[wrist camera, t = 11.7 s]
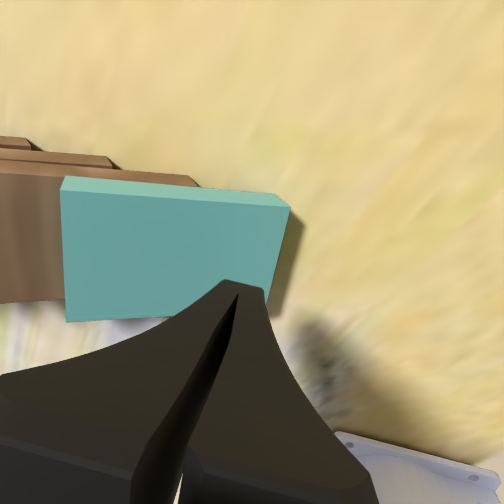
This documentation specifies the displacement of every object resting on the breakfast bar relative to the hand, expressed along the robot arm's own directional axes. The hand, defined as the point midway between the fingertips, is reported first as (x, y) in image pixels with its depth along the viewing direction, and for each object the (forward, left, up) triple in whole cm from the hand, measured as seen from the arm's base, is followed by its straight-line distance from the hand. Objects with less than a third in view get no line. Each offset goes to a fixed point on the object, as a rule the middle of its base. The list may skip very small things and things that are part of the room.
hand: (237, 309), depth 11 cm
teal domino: (-1, 0, -5) cm, 5 cm away
